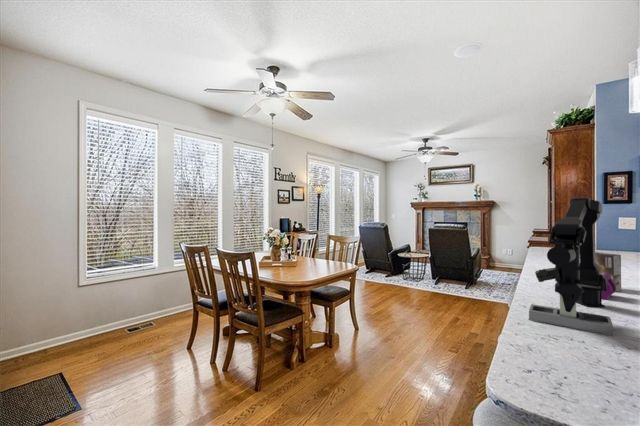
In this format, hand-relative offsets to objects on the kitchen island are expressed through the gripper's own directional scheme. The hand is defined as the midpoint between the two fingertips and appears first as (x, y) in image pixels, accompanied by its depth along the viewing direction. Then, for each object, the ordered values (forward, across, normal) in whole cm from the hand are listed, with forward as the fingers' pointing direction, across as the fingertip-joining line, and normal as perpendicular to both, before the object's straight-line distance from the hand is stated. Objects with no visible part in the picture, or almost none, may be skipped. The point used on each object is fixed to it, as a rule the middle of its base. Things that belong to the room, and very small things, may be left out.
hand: (568, 309), depth 95 cm
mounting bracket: (+5, -46, +5) cm, 47 cm away
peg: (+2, 0, 0) cm, 2 cm away
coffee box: (+5, -62, +13) cm, 63 cm away
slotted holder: (+4, 0, 0) cm, 4 cm away
